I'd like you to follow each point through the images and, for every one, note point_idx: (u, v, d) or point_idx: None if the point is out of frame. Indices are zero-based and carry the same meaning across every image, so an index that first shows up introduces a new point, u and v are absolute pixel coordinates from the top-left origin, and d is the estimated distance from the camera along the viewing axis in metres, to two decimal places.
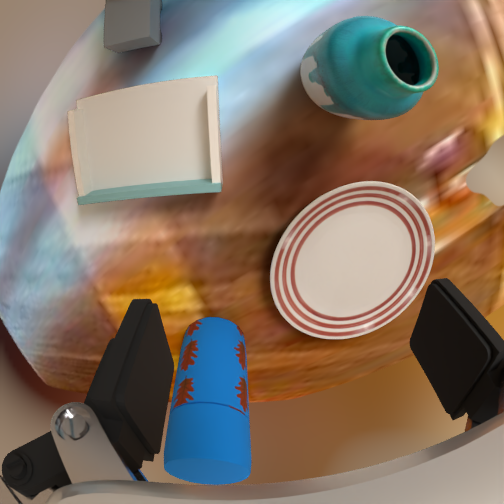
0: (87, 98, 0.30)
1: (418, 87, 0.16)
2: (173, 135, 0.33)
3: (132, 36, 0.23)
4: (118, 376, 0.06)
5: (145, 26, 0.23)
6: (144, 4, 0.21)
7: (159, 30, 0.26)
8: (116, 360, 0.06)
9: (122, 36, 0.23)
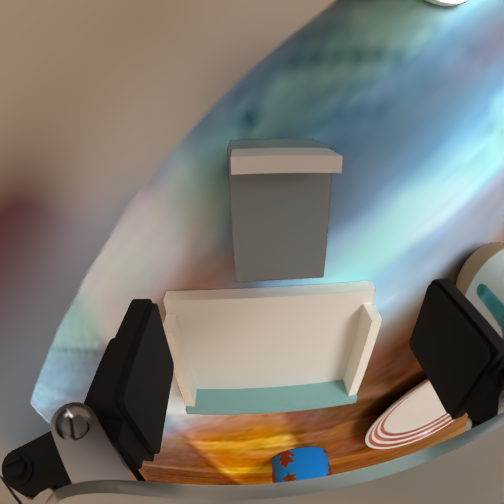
0: (183, 302, 0.25)
1: None
2: (309, 350, 0.28)
3: (292, 272, 0.18)
4: (118, 376, 0.06)
5: (317, 258, 0.18)
6: (318, 210, 0.16)
7: None
8: (116, 360, 0.06)
9: (272, 269, 0.18)
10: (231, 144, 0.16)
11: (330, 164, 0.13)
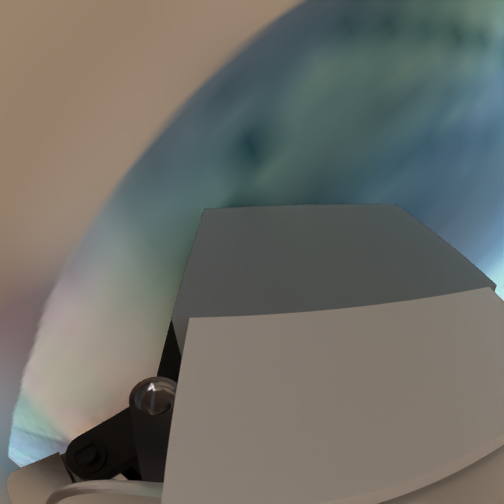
0: None
1: None
2: None
3: None
4: None
5: None
6: None
7: None
8: None
9: None
10: (199, 247, 0.06)
11: None
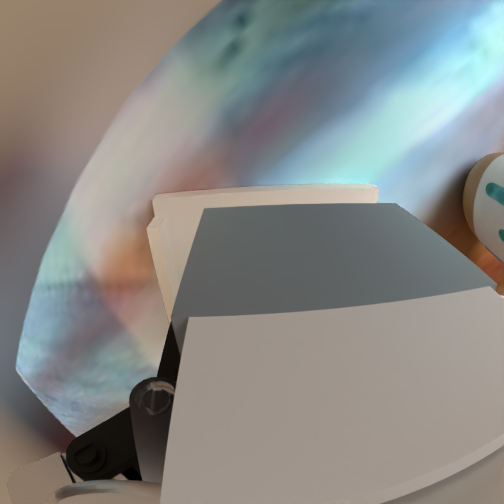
0: (173, 199, 0.23)
1: None
2: None
3: None
4: None
5: None
6: None
7: None
8: None
9: None
10: (198, 246, 0.06)
11: None
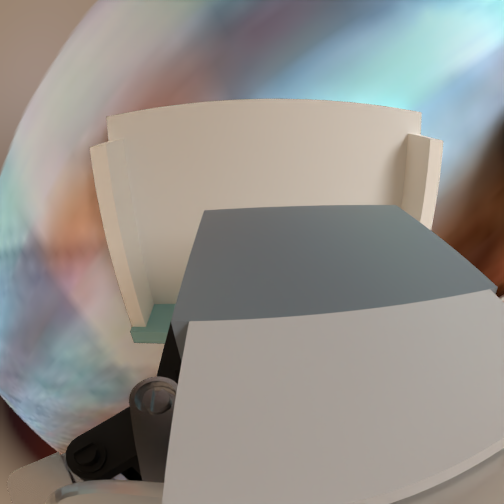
0: (134, 114, 0.14)
1: None
2: None
3: None
4: None
5: None
6: None
7: None
8: None
9: None
10: (198, 249, 0.06)
11: None
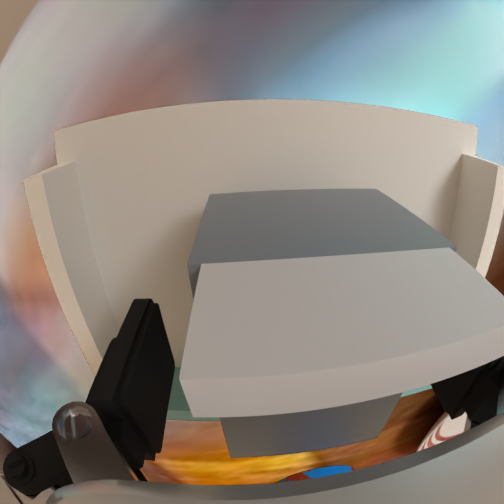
0: (88, 126, 0.09)
1: None
2: None
3: (329, 443, 0.08)
4: (120, 375, 0.06)
5: (375, 423, 0.08)
6: None
7: None
8: (118, 359, 0.06)
9: (296, 444, 0.08)
10: (206, 220, 0.07)
11: (495, 345, 0.03)
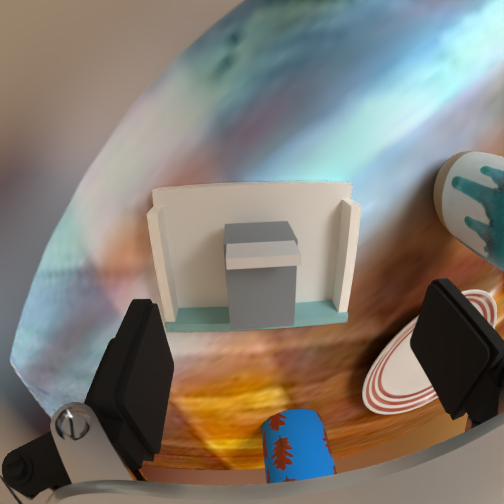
0: (170, 191, 0.26)
1: None
2: None
3: (271, 322, 0.25)
4: (118, 376, 0.06)
5: (289, 313, 0.25)
6: (288, 282, 0.23)
7: None
8: (116, 360, 0.06)
9: (257, 321, 0.25)
10: (225, 233, 0.24)
11: (293, 260, 0.20)
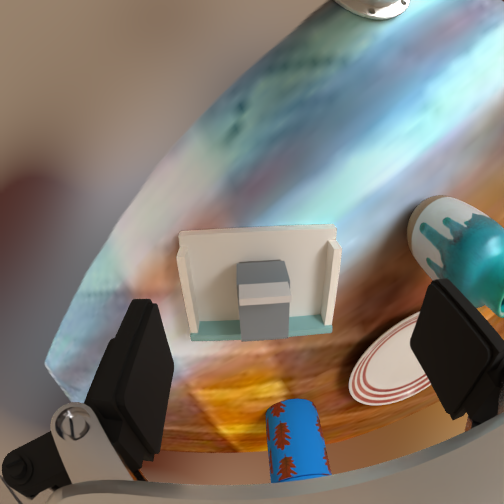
0: (193, 236, 0.35)
1: None
2: None
3: (271, 336, 0.34)
4: (118, 376, 0.06)
5: (284, 330, 0.33)
6: (283, 309, 0.32)
7: None
8: (116, 360, 0.06)
9: (260, 335, 0.33)
10: (237, 274, 0.32)
11: (285, 299, 0.28)
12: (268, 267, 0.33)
